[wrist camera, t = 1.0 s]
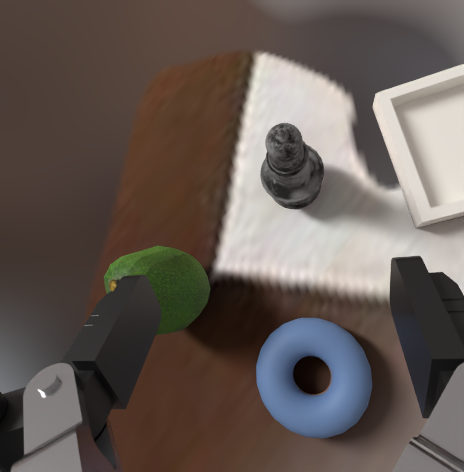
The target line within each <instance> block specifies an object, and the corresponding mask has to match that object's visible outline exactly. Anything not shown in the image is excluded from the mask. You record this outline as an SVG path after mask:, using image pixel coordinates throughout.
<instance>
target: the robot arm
mask: <svg viewBox="0 0 464 472" xmlns="http://www.w3.org/2000/svg"><path fill="white" fill-rule="evenodd" d="M390 306H391V312H392V316H393V320H394V323H395V326H396V330H397V333H398V336H399V340H400V343H401V346H402V350H403V353H404V356H405V360H406V363H407V366H408V370H409V373H410V376H411V380H412V383H413V386H414V390H415V393H416V396H417V400H418V403H419V406H420V410H421V413H422V416H423V418H429V419H428V420H427V422H426V424H425V426H424V428H423V429H422V431H421V433H420V434H419V436H418V437H417V438H416V437H414V438H412V439H411V441H410V442H409V443H408V445H407V446H406V448H405V450H404V451H403V453H402V455H401V457H400V459H399V460H398V462H397V464H396V466H395V467H394V469H393V471H392V472H464V295H463V293H462V292H461V290H460V288H459V286H458V284H457V283H455V282H454V281H453V280H452V279H450V278H449V277H448V276H447V275H445V274H444V273H443V272H436V273H429V272H428V270H427V268H426V266H425V264H424V262H423V260H422V258H421V257H420V256H411V257H397V258H392V260H391V277H390ZM160 321H161V308H160V304H159V302H158V300H157V297H156V295H155V293H154V291H153V288H152V286H151V284H150V281H149V279H148V277H147V276H146V275H131V276H123V277H122V278H121V279H120V281H119V282H118V284H117V286H116V287H115V289H114V291H110V292H109V293H108V294H107V295H106V296H105V297H103V298H102V299H101V300H100V301H99V302H98V304H97V305H96V307H95V308H94V310H93V312H92V313H91V316H89V318H88V320H87V321H86V323H85V326H83V328H82V329H81V331H80V332H79V334H78V336H77V337H76V339H75V340H74V342H73V344H72V345H71V347H70V349H69V350H68V352H67V353H66V355H65V356H64V358H63V360H62V361H61V363H58V364H54V365H51V366H49V367H47V368H45V369H43V370H42V371H41V372H39V373H38V374H37V375H36V376H35V377H34V378H33V379H32V380H31V381H30V382H29V384H28V385H27V387H25V388H21V389H18V390H15V391H12V392H9V393H5V394H2V393H1V392H0V472H123V470H122V466H121V462H120V458H119V455H118V451H117V447H116V443H115V439H114V435H113V431H112V427H111V423H110V421H109V419H108V415H109V413H110V411H111V409H126V407H127V404H128V402H129V399H130V397H131V394H132V392H133V389H134V387H135V384H136V382H137V379H138V377H139V374H140V372H141V369H142V367H143V364H144V362H145V360H146V357H147V355H148V352H149V350H150V347H151V345H152V342H153V340H154V337H155V335H156V332H157V330H158V327H159V325H160Z"/></svg>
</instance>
